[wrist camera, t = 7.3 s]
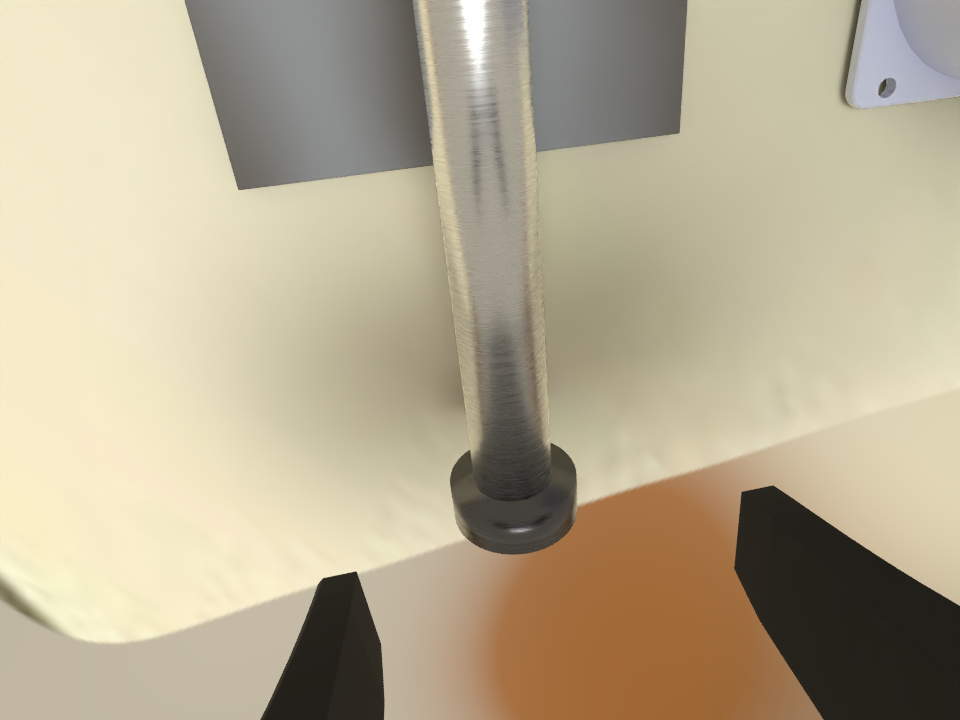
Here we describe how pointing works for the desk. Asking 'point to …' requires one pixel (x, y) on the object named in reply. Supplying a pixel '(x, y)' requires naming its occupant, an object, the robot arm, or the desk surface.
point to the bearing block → (419, 80)
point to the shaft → (494, 270)
